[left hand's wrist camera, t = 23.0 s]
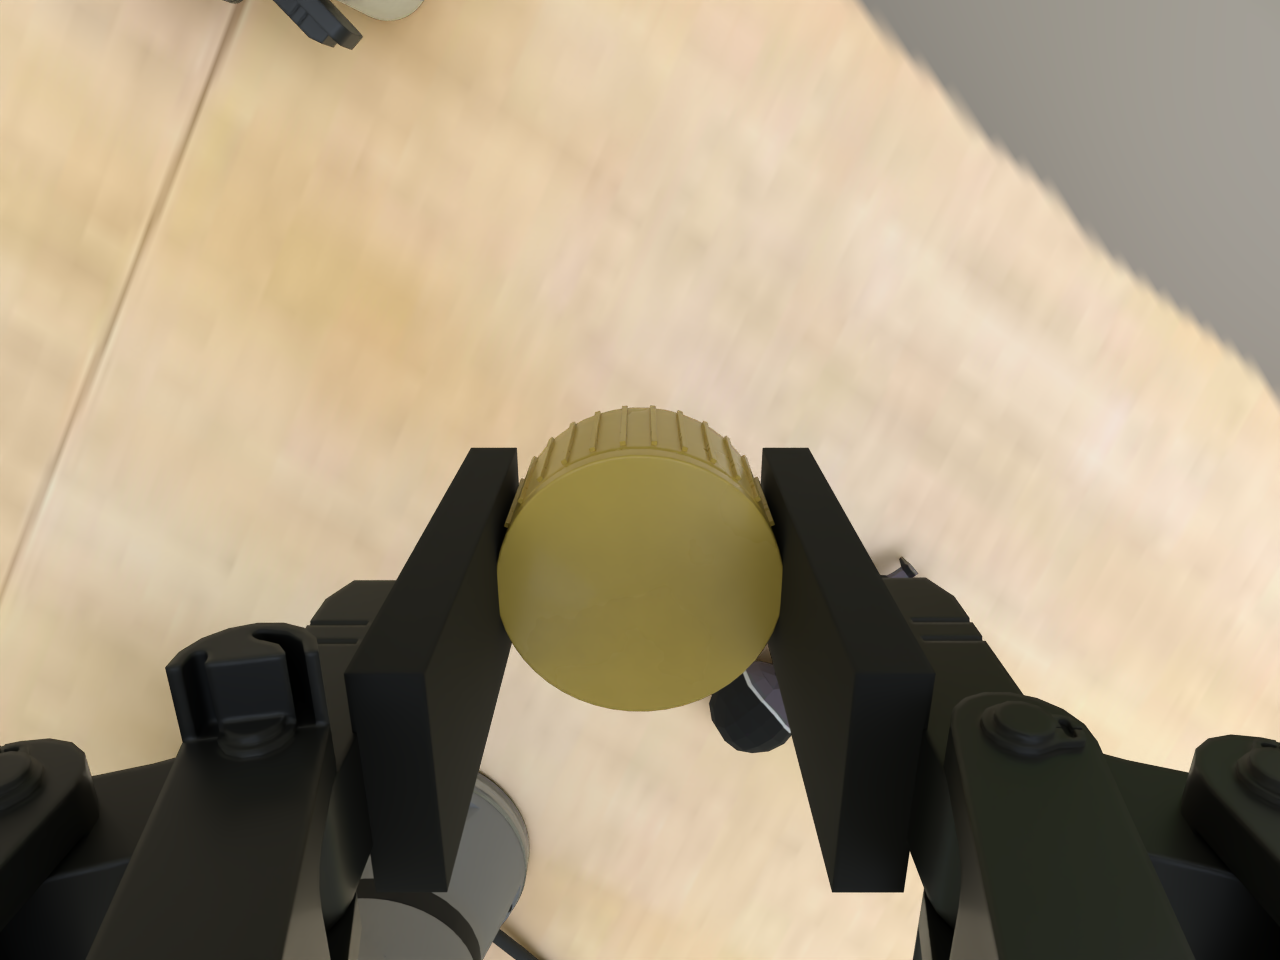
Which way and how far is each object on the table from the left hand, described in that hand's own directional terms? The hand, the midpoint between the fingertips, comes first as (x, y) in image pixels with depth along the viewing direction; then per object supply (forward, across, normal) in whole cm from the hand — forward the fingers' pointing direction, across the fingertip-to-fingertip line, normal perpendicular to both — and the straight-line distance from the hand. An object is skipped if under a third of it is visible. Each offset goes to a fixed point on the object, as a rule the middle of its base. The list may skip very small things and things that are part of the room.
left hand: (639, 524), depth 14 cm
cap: (-2, 0, 0) cm, 2 cm away
